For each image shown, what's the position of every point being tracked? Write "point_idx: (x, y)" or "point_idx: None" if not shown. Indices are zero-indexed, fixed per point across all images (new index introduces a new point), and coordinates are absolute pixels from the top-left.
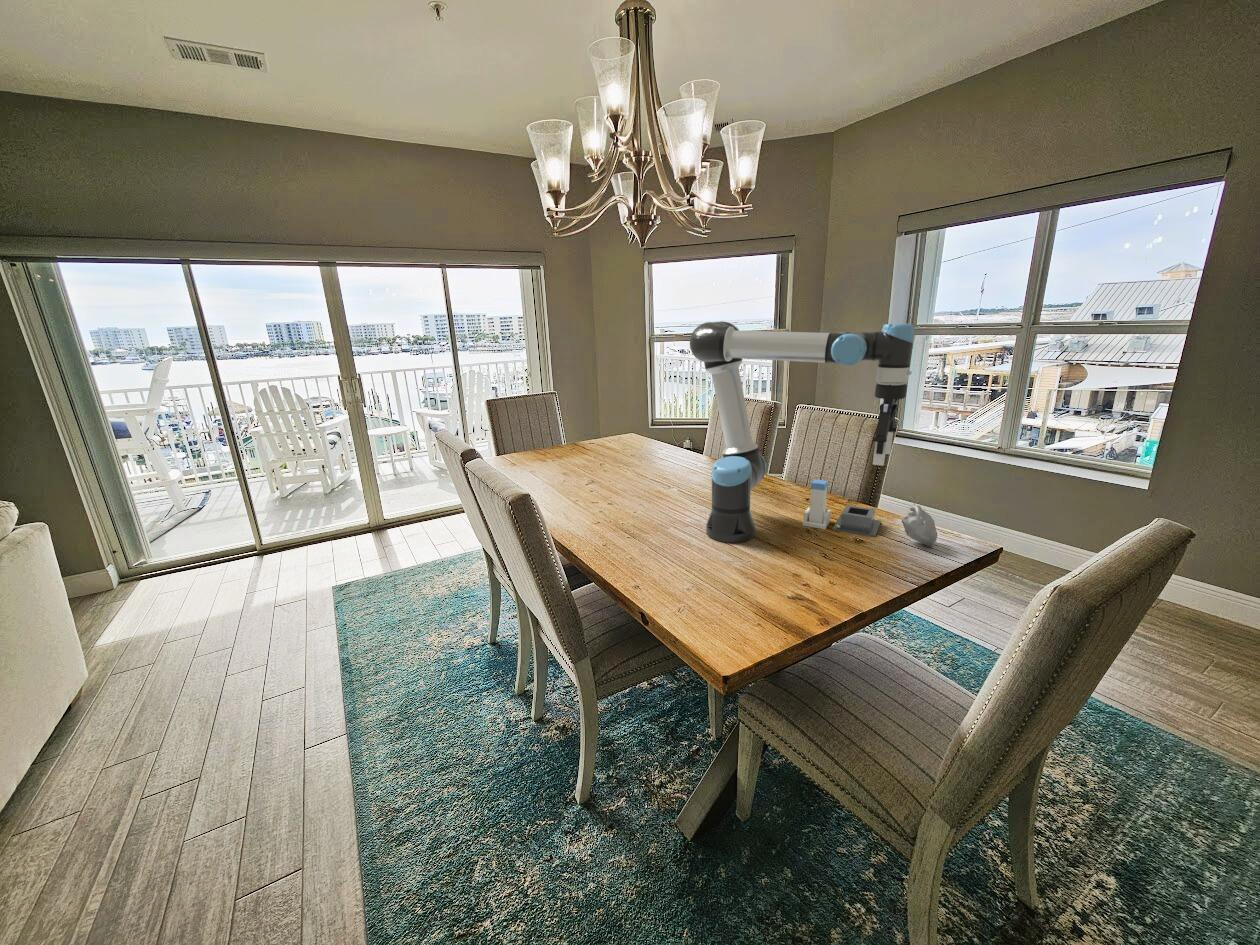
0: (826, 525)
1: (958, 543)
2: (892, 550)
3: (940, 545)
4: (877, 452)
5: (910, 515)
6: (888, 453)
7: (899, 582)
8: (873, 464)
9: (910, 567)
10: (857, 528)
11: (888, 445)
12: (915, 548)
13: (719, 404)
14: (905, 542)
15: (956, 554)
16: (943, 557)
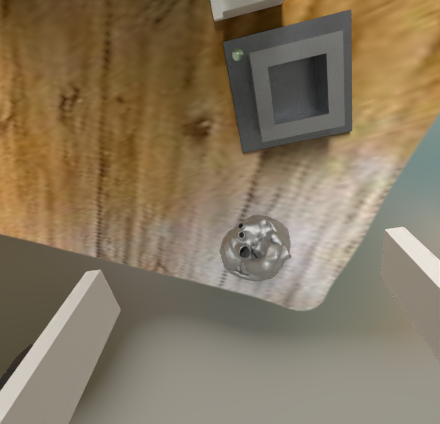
0: (226, 17)
1: (304, 273)
2: (197, 198)
3: None
4: (23, 358)
5: (237, 250)
6: (384, 274)
7: (85, 239)
8: (88, 275)
9: (149, 239)
10: (254, 104)
11: (414, 311)
12: None
13: None
14: (253, 206)
15: None
16: None
